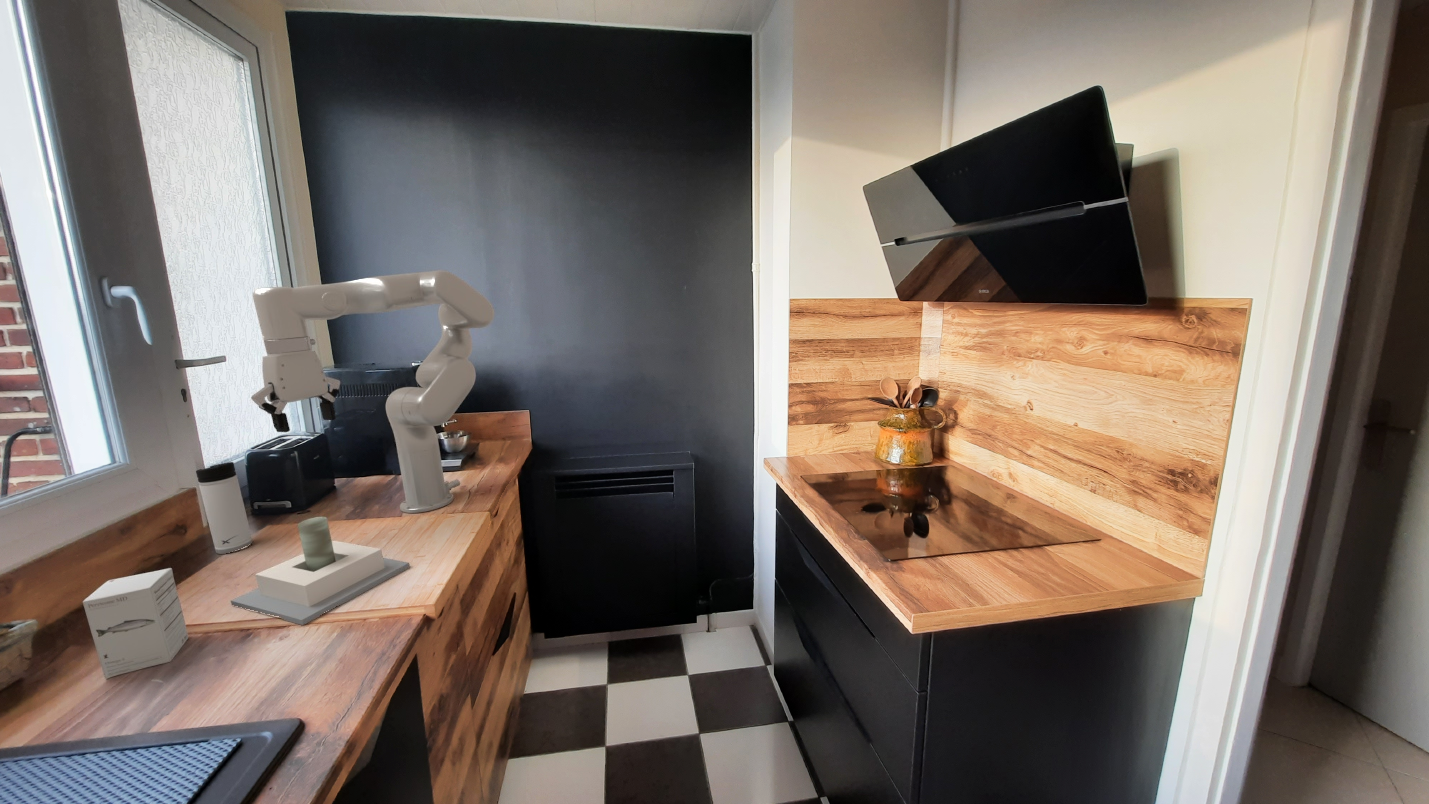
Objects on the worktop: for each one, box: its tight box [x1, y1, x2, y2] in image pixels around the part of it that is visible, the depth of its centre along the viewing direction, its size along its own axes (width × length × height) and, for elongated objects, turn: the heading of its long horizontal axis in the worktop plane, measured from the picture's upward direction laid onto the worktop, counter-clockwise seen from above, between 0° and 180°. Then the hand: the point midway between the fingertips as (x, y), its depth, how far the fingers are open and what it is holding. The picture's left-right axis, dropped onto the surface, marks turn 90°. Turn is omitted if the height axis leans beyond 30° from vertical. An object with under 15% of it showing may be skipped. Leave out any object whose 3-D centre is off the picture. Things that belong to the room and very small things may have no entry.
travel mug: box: [195, 461, 253, 555], centre depth 117 cm, size 6×7×20 cm
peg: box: [297, 516, 336, 572], centre depth 99 cm, size 4×4×12 cm
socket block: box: [230, 540, 411, 626], centre depth 100 cm, size 20×20×5 cm
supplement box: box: [82, 567, 189, 680], centre depth 80 cm, size 7×7×13 cm
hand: (307, 425), depth 114 cm, fingers open, 9 cm apart
